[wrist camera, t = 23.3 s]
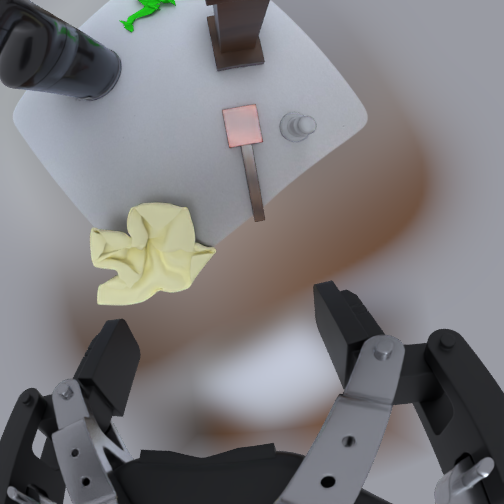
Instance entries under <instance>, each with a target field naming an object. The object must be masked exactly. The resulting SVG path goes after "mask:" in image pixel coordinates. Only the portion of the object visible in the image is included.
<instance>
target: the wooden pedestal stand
mask: <svg viewBox="0 0 504 504" xmlns="http://www.w3.org/2000/svg"><path fill="white" fill-rule="evenodd" d="M205 1H206V5H207V6H209V5H213V8H214V16H209V17H207V21H208V26H209V31H210V36H211V41H212V46H213V51H214V56H215V61H216V66H217V71H221V70H227V69H233V68H239V67H245V66H252V65H260V64H264V57H263V52H262V48H261V44H260V39H259V33H260V29H261V26H262V23H263V20H264V17H265V13H266V10H267V7H268V4H269V1H270V0H205Z"/></svg>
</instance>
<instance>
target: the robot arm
mask: <svg viewBox="0 0 504 504" xmlns="http://www.w3.org/2000/svg"><path fill="white" fill-rule="evenodd" d="M120 71H121V61H120V58H119V56H118V55H117V54H116V53H115V52H114V51H112V50H110V49H108V48H106V47H105V46H104V45H102V44H101V43H99V42H97V41H96V40H94V39H93V38H91V37H90V36H88V35H86V34H85V33H83V32H82V31H80V30H78V29H77V28H75V27H73V26H71V25H69V24H68V23H66V22H64V21H63V20H61V19H59V18H57V17H56V16H54V15H53V14H51V13H50V12H48V11H46V10H44V9H42V8H41V7H39V6H38V5H36V4H34V3H33V2H31V1H30V0H0V80H1V81H2V83H3V84H4V85H5V86H7V87H10V88H15V89H24V90H32V91H41V92H47V93H54V94H60V95H66V96H71V97H76V98H80V99H76V100H96V99H98V98H101V97H102V96H104V95H105V94H107V93H108V92H109V91H110V90H111V89H112V88H113V86H114V85H115V84H116V82H117V80H118V78H119V75H120ZM313 289H314V304H315V318H316V323H317V327H318V330H319V332H320V335H321V337H322V339H323V341H324V344H325V346H326V348H327V351H328V353H329V355H330V357H331V360H332V363H333V365H334V367H335V369H336V372H337V374H338V377H339V379H340V381H341V384H342V386H343V389H345V390H344V392H343V394H339V396H338V397H337V399H336V400H335V403H334V404H333V407H332V409H331V411H330V413H329V415H328V417H327V418H326V420H325V422H324V424H323V426H322V428H321V430H320V432H319V434H318V436H317V437H316V439H315V441H314V443H313V445H312V446H311V448H310V450H309V451H308V453H307V455H306V456H304V455H301V454H296V453H293V452H286V451H276V449H275V446H274V443H270V444H264V445H257V446H250V447H242V448H236V449H233V450H230V451H227V452H224V453H220V454H217V455H213V456H210V457H206V458H199V457H194V456H189V455H184V454H180V453H176V452H172V451H155V450H141V454H140V458H138V459H135V460H134V459H133V458H132V456H131V455H130V453H129V451H128V450H127V448H126V446H125V444H124V442H123V441H122V438H121V437H120V435H119V433H118V431H117V429H116V427H115V425H114V423H113V422H112V421H111V418H112V416H123V415H124V411H125V407H126V404H127V400H128V396H129V393H130V390H131V386H132V383H133V380H134V376H135V373H136V370H137V366H138V363H139V360H140V349H139V346H138V344H137V342H136V340H135V338H134V336H133V334H132V332H131V331H130V329H129V327H128V325H127V323H126V321H125V320H124V319H116V320H108V321H106V323H105V325H104V326H103V328H102V330H101V332H100V333H99V334H98V335H97V336H96V337H95V338H94V339H93V340H92V342H91V343H90V345H89V347H88V350H87V352H86V353H85V357H83V359H82V361H81V363H80V365H79V367H78V369H77V371H76V373H75V375H74V377H73V379H66V380H64V381H62V382H61V383H59V384H58V385H57V386H56V387H55V389H54V391H53V394H52V395H47V396H42V395H41V394H40V393H39V392H38V390H37V389H35V388H29V389H27V390H25V391H24V392H23V393H22V394H21V395H20V397H19V398H18V400H17V402H16V404H15V407H14V409H13V411H12V413H11V416H10V418H9V420H8V422H7V425H6V427H5V430H4V432H3V435H2V437H1V440H0V504H63V499H64V493H65V488H67V490H68V493H69V496H70V498H71V501H72V503H73V504H392V503H390V502H388V501H386V500H384V499H382V498H379V497H378V496H376V495H374V494H372V493H370V492H368V491H366V490H364V489H363V488H362V486H363V484H364V482H365V480H366V478H367V475H368V473H369V471H370V468H371V466H372V464H373V462H374V459H375V457H376V454H377V451H378V449H379V446H380V444H381V441H382V438H383V435H384V432H385V429H386V426H387V423H388V420H389V417H390V414H391V410H392V406H393V405H398V404H408V403H413V405H414V407H415V409H416V412H417V413H418V416H419V418H420V420H421V422H422V424H423V427H424V429H425V431H426V433H427V436H428V438H429V440H430V442H431V445H432V447H433V449H434V452H435V454H436V457H437V459H438V462H439V464H440V467H441V469H442V472H443V474H444V476H442V478H441V479H440V480H439V481H438V483H437V485H436V488H435V492H434V496H435V504H504V393H503V391H502V390H501V388H500V387H499V385H498V384H497V382H496V381H495V380H494V378H493V377H492V375H491V374H490V373H489V371H488V370H487V368H486V367H485V366H484V364H483V363H482V362H481V360H480V359H479V358H478V356H477V355H476V354H475V352H474V351H473V350H472V349H471V347H470V346H469V345H468V344H467V342H466V341H465V340H464V338H463V337H462V336H461V335H460V334H459V333H457V332H455V331H453V330H449V329H439V330H436V331H434V332H433V333H432V334H431V335H430V336H429V338H428V341H427V343H422V344H412V345H403V344H402V342H401V341H400V340H399V339H397V338H395V337H393V336H390V335H385V334H384V332H383V331H382V330H381V328H380V327H379V325H378V324H377V323H376V321H375V320H374V318H373V317H372V315H371V314H370V313H369V311H367V309H366V307H365V306H364V305H363V303H362V302H361V300H360V299H359V298H358V296H357V295H356V294H354V293H352V292H350V291H348V290H343V291H339V290H338V288H337V287H336V285H335V284H334V282H333V281H328V282H324V283H319V284H315V285H314V287H313ZM37 429H39V430H40V431H41V432H42V433H43V434H44V435H45V436H46V437H47V439H46V442H45V445H44V448H43V451H42V455H41V458H40V459H39V458H38V457H36V456H35V455H34V453H33V451H32V444H33V441H34V438H35V435H36V432H37Z"/></svg>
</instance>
